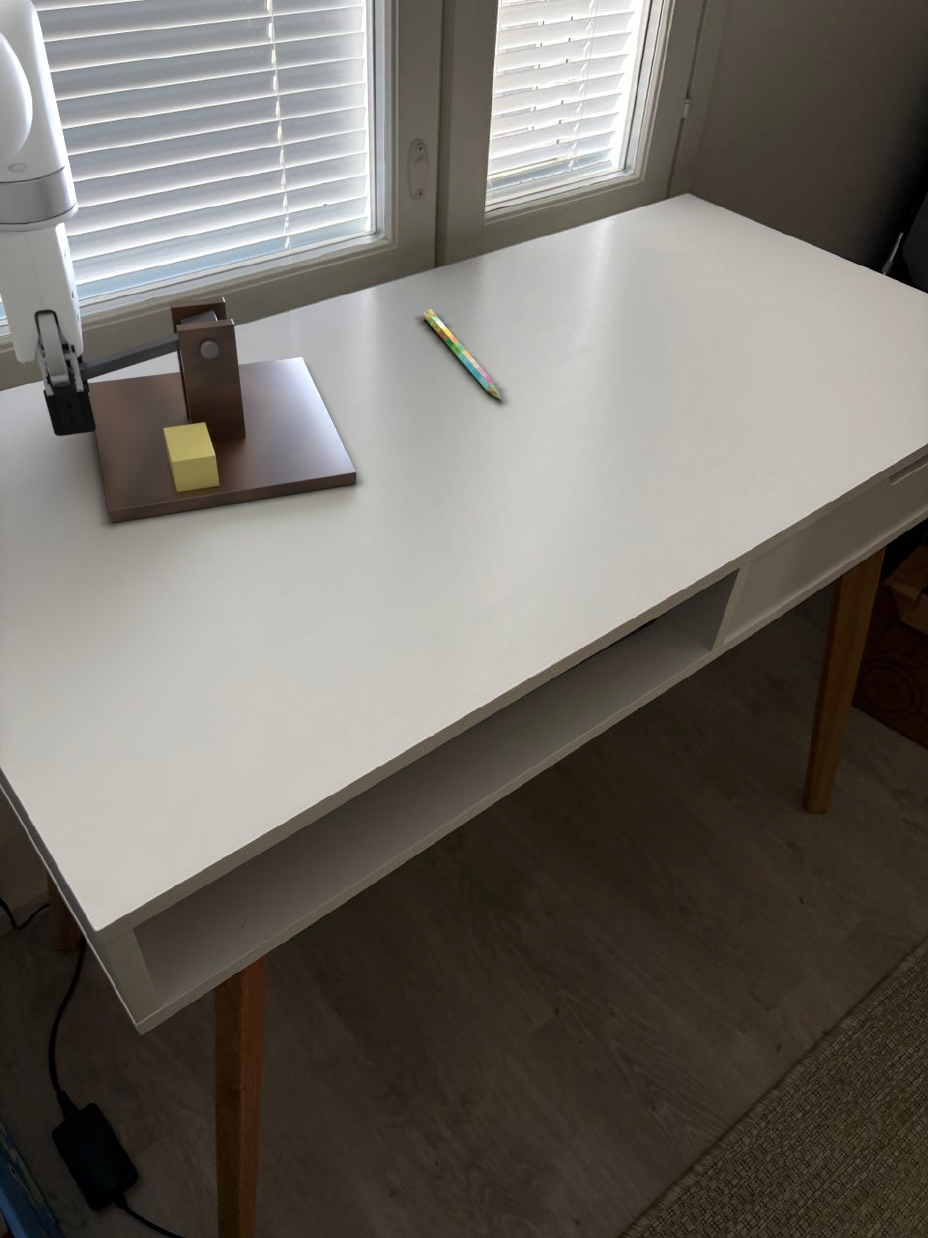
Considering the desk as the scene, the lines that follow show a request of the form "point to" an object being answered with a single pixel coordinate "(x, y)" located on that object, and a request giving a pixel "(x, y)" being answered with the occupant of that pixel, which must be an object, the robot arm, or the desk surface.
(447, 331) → the pencil
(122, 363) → the lever
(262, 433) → the slicer
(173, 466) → the butter
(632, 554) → the desk surface
